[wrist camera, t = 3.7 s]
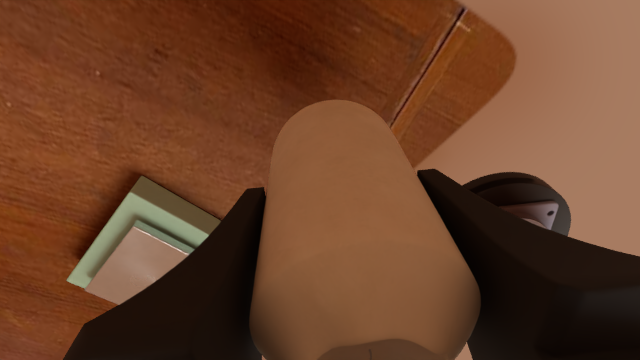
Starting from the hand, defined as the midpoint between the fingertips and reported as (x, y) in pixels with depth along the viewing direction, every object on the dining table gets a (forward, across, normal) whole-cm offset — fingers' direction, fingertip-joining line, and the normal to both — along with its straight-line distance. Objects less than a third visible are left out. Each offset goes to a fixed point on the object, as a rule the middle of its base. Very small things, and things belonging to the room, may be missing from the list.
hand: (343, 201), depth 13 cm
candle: (+4, 0, 0) cm, 4 cm away
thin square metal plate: (+8, +13, +10) cm, 18 cm away
